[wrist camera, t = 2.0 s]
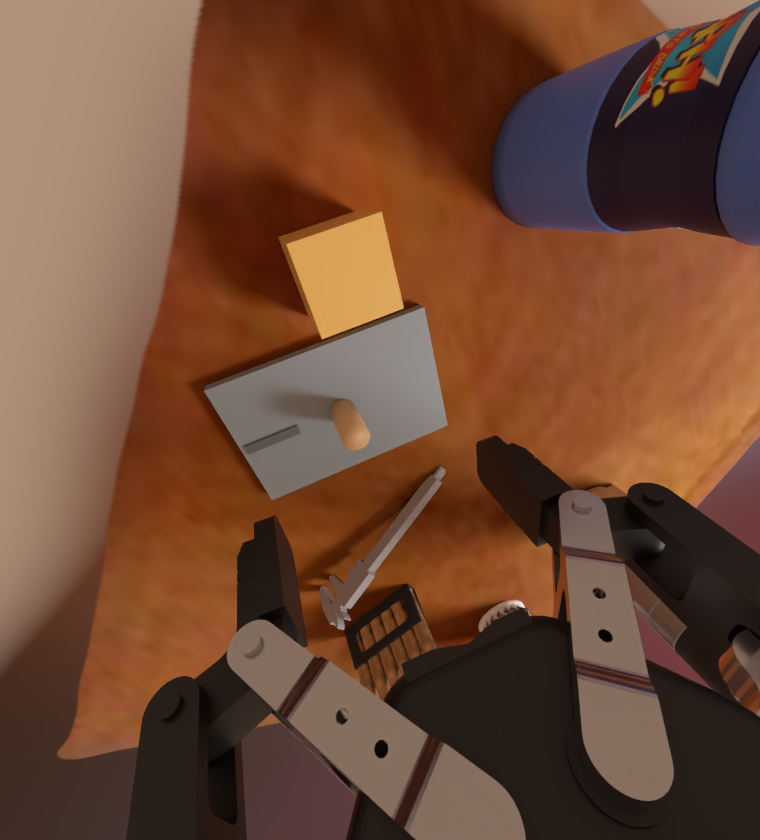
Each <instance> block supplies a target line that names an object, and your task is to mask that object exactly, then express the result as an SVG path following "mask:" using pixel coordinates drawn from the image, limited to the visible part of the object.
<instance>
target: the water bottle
mask: <svg viewBox="0 0 760 840" xmlns="http://www.w3.org/2000/svg"><path fill="white" fill-rule="evenodd" d="M492 181H493V187H494V192H495V195H496V198H497V201H498V204H499V205H500V207H501V209H502V210H503V212H504V213H505V214H506V215H507V216H508V217H509V218H510V219H511V220H512V221H513V222H515V223H517V224H519V225H521V226H525V227H533V228H548V229H564V230H579V231H597V232H616V233H627V232H634V231H641V230H650V229H659V228H668V227H674V228H680V229H685V230H690V231H696V232H701V233H707V234H712V235H718V236H723V237H729V238H734V239H735V240H737V241H738V242H741V243H744V244H747V245H754V246H760V0H759V1H757V2H756V3H753V4H752V5H750V6H748V7H746V8H744V9H742V10H741V11H738V12H736V13H735V14H733V15H731V16H729V17H727V18H724V19H720V20H716V21H711V22H707V23H702V24H698V25H694V26H690V27H685V28H681V29H680V28H677V29H672V30H667V31H663V32H661V33H658V34H656V35H653V36H651V37H649V38H646V39H644V40H641V41H639V42H636V43H634V44H632V45H629V46H627V47H624V48H622V49H620V50H617V51H615V52H612V53H610V54H608V55H605V56H603V57H601V58H598V59H596V60H593V61H591V62H589V63H586V64H584V65H582V66H579V67H577V68H575V69H572V70H570V71H568V72H565V73H563V74H561V75H558V76H556V77H554V78H551V79H549V80H546V81H544V82H542V83H540V84H538V85H536V86H534V87H532V88H531V89H529V90H528V91H527V92H526V93H525V94H523V95H522V96H521V97H520V98H519V99H518V101H517V102H516V103H515V104H514V105H513V107H512V108H511V109H510V111H509V113H508V114H507V116H506V118H505V119H504V121H503V124H502V126H501V129H500V131H499V133H498V136H497V140H496V144H495V147H494V152H493V160H492Z"/></svg>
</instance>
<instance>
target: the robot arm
mask: <svg viewBox="0 0 760 840" xmlns="http://www.w3.org/2000/svg"><path fill="white" fill-rule="evenodd" d="M476 449H477V472H478V476H479V478H480V481H481V482H482V484H483V485H484V487H485V488H486V489H487V490H488V491H489V492H490V494H491V495H492V496H493V497H494V498H495V499H496V500H497V502H498V503H499V504H500V505H501V506H502V507H503V509H504V510H505V511H506V512H507V513H508V514H509V515H510V517H511V518H512V519H513V520H514V521H515V522H516V523H517V525H518V526H519V527H520V528H521V529H522V530H523V532H524V533H525V534H526V535H527V536H528V537H529V538H530V540H531V541H532V542H533V543H534V544H535V545H536V546H537V547H539V546H541V545H543V544H546V543H548V544H549V545H550V546H551V547H552V570H553V591H554V611H553V617H547V616H529V615H528V614H527V613H526V611H525V610H524V608H523V607H522V608H520V609H518V610H516V611H513V612H511V613H509V614H507V615H505V616H503V617H501V618H498V619H496V620H494V621H493V622H492V623H491V624H490V625H489V626H488V627H486V628H485V629H484V630H483V631H482V632H481V633H480V634H479V635H478V636H477V637H475V638H474V639H473V640H472V641H471V642H470V643H468V644H464V645H457V646H451V647H444V648H438V649H432V650H430V651H428V652H426V653H423V654H421V655H419V656H417V657H415V658H413V659H411V660H408V661H406V662H404V663H402V664H401V666H402V669H403V672H404V674H403V675H402V676H401V677H400V678H399V679H398V680H397V681H396V682H395V683H394V685H393V686H392V687H391V688H390V690H389V691H388V693H387V694H386V696H385V698H384V700H383V701H382V700H381V699H380V698H378V697H377V696H376V695H374V694H373V693H372V692H370V691H369V690H368V689H366V688H365V687H364V686H362V685H361V684H360V683H358V682H357V681H356V680H354V679H353V678H351V677H350V676H349V675H347V674H346V673H345V672H343V671H342V670H341V669H339V668H338V667H337V666H335V665H334V664H333V663H331V662H330V661H328V660H327V659H325V658H323V657H320V658H317V657H315V656H314V655H313V654H311V653H310V652H309V651H307V650H306V649H305V647H307V646H308V645H307V639H306V633H305V626H304V620H303V614H302V607H301V601H300V594H299V588H298V582H297V575H296V569H295V562H294V557H293V553H292V549H291V546H290V544H289V541H288V539H287V537H286V535H285V533H284V531H283V529H282V527H281V525H280V523H279V521H278V519H277V517H276V516H275V515H274V516H272V517H269V518H266V519H263V520H261V521H258V522H255V523H254V539H252V540H250V541H247V542H244V543H243V545H242V547H241V550H240V552H239V554H238V557H237V571H238V573H237V582H238V585H237V631H236V634H235V635H234V637H233V638H232V640H231V642H230V644H229V647H228V650H227V652H226V653H225V654H224V655H223V656H222V657H221V658H220V659H219V660H218V661H217V662H216V663H215V664H213V665H212V666H211V667H209V668H208V669H207V670H206V671H204V672H203V673H202V674H200V675H199V676H198V677H197V678H195V679H193V678H191V677H188V676H182V677H177V678H175V679H173V680H171V681H169V682H168V683H166V684H165V685H164V686H163V687H161V688H160V689H159V690H158V691H157V693H156V694H155V695H154V696H153V698H152V699H151V700H150V702H149V704H148V706H147V708H146V710H145V712H144V715H143V719H142V725H141V732H140V740H139V747H138V755H137V762H136V771H135V777H134V785H133V792H132V801H131V807H130V815H129V823H128V830H127V837H126V840H247V835H246V818H245V800H244V782H243V765H242V748H241V739H243V738H244V737H245V736H246V735H247V734H248V733H249V732H250V731H251V730H253V729H254V728H255V727H256V726H257V725H258V724H259V723H260V722H261V721H263V720H264V719H265V718H266V717H267V716H268V715H269V714H270V713H272V714H273V715H274V716H275V717H276V718H277V719H278V720H279V721H280V722H281V723H282V724H283V725H284V726H285V727H286V728H287V729H288V730H289V731H290V732H291V733H292V734H294V735H295V736H296V737H297V738H298V739H299V740H300V741H301V742H302V743H303V744H304V745H305V746H306V747H307V748H308V749H309V750H310V751H311V752H312V753H313V754H314V755H315V756H316V757H317V758H318V759H319V760H320V761H321V762H322V763H323V764H324V765H325V766H326V767H327V768H328V769H329V770H330V771H331V772H332V773H333V774H334V775H335V776H336V777H337V778H338V779H339V780H340V781H341V782H342V783H343V784H344V785H345V786H347V788H348V789H349V790H351V791H352V792H353V793H354V794H355V795H356V796H357V797H356V801H355V805H354V809H353V813H352V817H351V821H350V825H349V829H348V833H347V837H346V840H760V555H759V554H758V553H756V552H755V551H754V550H752V549H751V548H750V547H748V546H747V545H746V544H744V543H743V542H741V541H740V540H739V539H737V538H736V537H734V536H733V535H732V534H730V533H729V532H727V531H726V530H725V529H723V528H722V527H721V526H719V525H718V524H717V523H715V522H714V521H712V520H711V519H710V518H708V517H707V516H705V515H704V514H702V513H701V512H700V511H698V510H697V509H696V508H694V507H693V506H692V505H690V504H689V503H687V502H686V501H685V500H683V499H682V498H681V497H679V496H678V495H676V494H675V493H674V492H672V491H671V490H669V489H667V488H665V487H663V486H661V485H657V484H653V483H638V484H635V485H633V486H631V487H630V488H629V490H628V493H627V494H626V493H624V492H623V491H622V490H620V489H619V488H618V487H616V486H615V485H612V486H609V487H603V486H600V487H594V488H591V489H588V490H586V491H584V490H574V489H572V488H571V487H570V486H569V485H567V484H566V483H565V482H564V481H563V480H562V479H560V478H559V477H558V476H557V475H556V474H555V473H553V472H552V471H551V470H550V469H549V468H548V467H546V466H545V465H543V463H542V462H541V461H539V460H538V459H537V458H535V456H534V455H532V454H531V453H530V452H529V451H528V450H527V449H525V448H523V447H521V446H518V445H516V444H513V443H511V444H508V445H507V444H506V443H505V442H504V441H503V440H501V439H500V438H499V437H498V436H492V437H489V438H487V439H484V440H481V441H478V442H477V445H476ZM634 609H635V610H636V611H637V612H638V613H639V614H640V615H641V616H642V617H643V619H644V620H645V621H647V623H649V625H651V627H652V628H653V629H654V630H655V631H656V632H657V633H658V634H659V635H660V636H661V637H662V638H663V639H664V640H665V641H666V642H667V643H668V644H669V645H670V646H671V647H672V648H673V649H674V650H675V651H676V652H677V653H678V654H679V655H680V656H681V657H682V658H683V659H684V660H685V661H686V662H687V663H688V664H689V666H690V667H691V668H692V669H693V670H694V671H695V672H696V673H697V674H698V675H699V676H700V677H701V678H702V679H703V680H704V681H705V682H706V683H707V684H708V685H709V686H710V687H711V688H712V689H713V690H714V691H713V690H711V689H709V688H707V687H705V686H703V685H701V684H698V683H696V682H694V681H692V680H690V679H688V678H686V677H684V676H681V675H679V674H677V673H675V672H673V671H671V670H669V669H667V668H664V667H662V666H660V665H658V664H656V663H654V662H652V661H650V660H648V659H645V657H644V653H643V648H642V643H641V639H640V634H639V630H638V625H637V620H636V616H635V612H634Z"/></svg>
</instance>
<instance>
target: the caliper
mask: <svg viewBox="0 0 760 840" xmlns="http://www.w3.org/2000/svg"><path fill="white" fill-rule="evenodd" d="M445 472H446V470H445V469H444V468H442V467H441V466H439V467H438V469H437V470H436V471H435V473H434V474H433V475H430V476H429V477H428V478H427V479H426V480H425V481H424V482H423V483H422V484H421V486H420V487H419V488H418V490H417V491H416V492H415V494H414V495H413V496H412V498H411V499H410V500H409V502H408V503H407V504H406V506H405V507H404V508H403V509H402V511H401V512H400V513H399V515H398V516H397V517H396V519H395V520H394V521H393V523H392V524H391V525H390V527H389V528H388V529H387V531H386V532H385V533H384V535H383V536H382V537H381V538H380V540H379V541H378V542H377V544H376V545H375V546H374V548H373V549H372V550H371V552H370V553H369V554H368V555H367V557H366V558H365V559H364V560H362V559H358V560H357V562H356V564H355V566H354V567H353V568H352V569H351V570H350V572H349V574H348V576H347V580H346V581H345V582H343V581H342V580H341V579H339V578H338V577H336V576H333V575H331V576H330V577H329V580H330V583H331V585H332V587H333V589H334V591H335V592H336V593H337V596H336V598H335V599H333V597H332V595H331V593H330V591H329V589H328V587H325V586H322V585H321V587H320V590H319V591H320V597H321V602H322V607H323V612H324V614H325V616H326V618H327V620H328V622H329V624H331V625H334V626H336V628H337V629H341V630H344V628H345V624H344V619H345V620H348V621H351V618H350V616H349V615H348V613H347V608H348V609H351V608H352V607H353V605H354V604H355V603H356V601H357V600H358V599H359V597H360V596H361V595H362V593H363V592H364V591H365V589H366V588H367V587H368V585H369V584H370V583H371V581H372V580H373V579H374V577H375V574H374V572H375V571H376V570H377V568H378V567H379V566H380V565H381V563H382V562H383V561H384V559H385V558H386V557H387V555H388V554H389V553H390V551H391V550H392V549H393V548H394V546H395V545H396V544H397V542H398V541H399V540H400V538H401V537H402V536H403V534H404V533H405V532H406V531H407V529H408V528H409V527H410V525H411V524H412V523H413V521H414V520H415V519H416V517H417V516H418V515H419V513H420V512H421V511H422V510H423V508H424V507H425V506H426V504H427V503H428V502H429V500H430V499H431V498H432V496H433V495H434V494H435V492H436V491H437V490H438V488H439V487H440V486H441V484H442V483H441V482H440V480H441V479H442V478H443V476H444V475H445V474H446V473H445Z"/></svg>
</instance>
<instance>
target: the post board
mask: <svg viewBox="0 0 760 840" xmlns="http://www.w3.org/2000/svg"><path fill="white" fill-rule="evenodd" d="M204 392H205V394H206V395H207V397H208V398H209V400H210V402H211V403H212V405H213V406H214V408H215V410H216V411H217V413H218V414H219V416H220V418H221V419H222V421H223V422H224V424H225V426H226V427H227V429H228V430H229V432H230V434H231V435H232V437H233V438H234V440H235V442H236V443H237V445H238V447H239V448H240V450H241V451H242V453H243V455H244V456H245V458H246V459H247V461H248V463H249V464H250V466H251V467H252V469H253V471H254V472H255V474H256V475H257V477H258V479H259V480H260V482H261V483H262V485H263V487H264V488H265V490H266V491H267V493H268V495H269V496H270V498H271V499H272V500H274V499H277V498H279V497H281V496H284V495H286V494H288V493H291V492H293V491H295V490H298V489H300V488H302V487H305V486H307V485H310V484H312V483H314V482H317V481H319V480H321V479H324V478H326V477H328V476H331V475H333V474H335V473H338V472H340V471H342V470H345V469H347V468H349V467H352V466H354V465H356V464H359V463H361V462H363V461H366V460H368V459H370V458H373V457H375V456H377V455H380V454H382V453H385V452H387V451H389V450H392V449H394V448H396V447H399V446H401V445H403V444H406V443H408V442H410V441H413V440H415V439H417V438H420V437H422V436H424V435H427V434H429V433H431V432H434V431H436V430H438V429H441V428H443V427H445V426H448V424H447V419H446V414H445V409H444V404H443V399H442V394H441V389H440V384H439V379H438V374H437V369H436V364H435V359H434V354H433V349H432V344H431V339H430V334H429V329H428V324H427V319H426V314H425V309H424V307H423V306H421V305H416V306H414V307H411V308H408V309H406V310H403V311H401V312H398V313H395V314H393V315H390V316H387V317H385V318H382V319H379V320H377V321H374V322H372V323H369V324H366V325H364V326H361V327H358V328H356V329H353V330H350V331H348V332H345V333H343V334H340V335H337V336H335V337H332V338H329V339H327V340H324V341H321V342H319V343H316V344H313V345H311V346H308V347H306V348H303V349H300V350H298V351H295V352H292V353H290V354H287V355H284V356H282V357H279V358H277V359H274V360H271V361H269V362H266V363H263V364H261V365H258V366H255V367H253V368H250V369H248V370H245V371H242V372H240V373H237V374H234V375H232V376H229V377H226V378H224V379H221V380H219V381H216V382H213V383H211V384H208V385H205V388H204Z"/></svg>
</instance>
